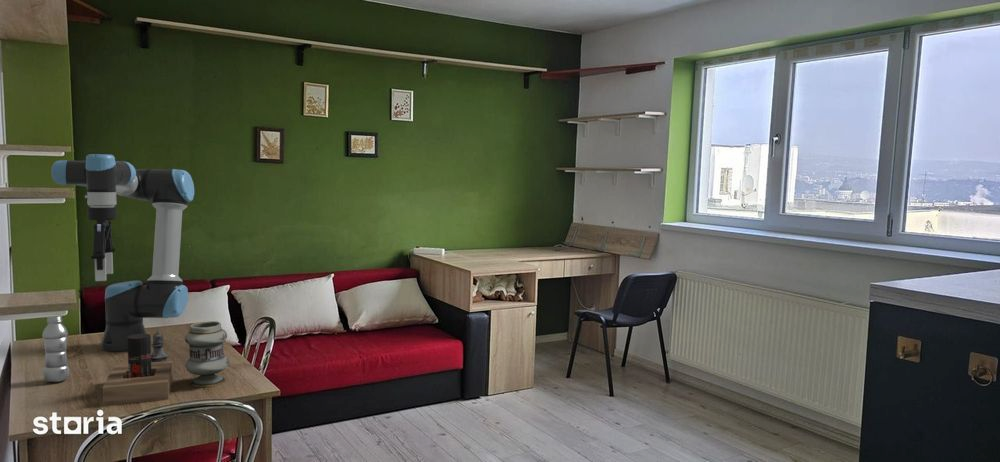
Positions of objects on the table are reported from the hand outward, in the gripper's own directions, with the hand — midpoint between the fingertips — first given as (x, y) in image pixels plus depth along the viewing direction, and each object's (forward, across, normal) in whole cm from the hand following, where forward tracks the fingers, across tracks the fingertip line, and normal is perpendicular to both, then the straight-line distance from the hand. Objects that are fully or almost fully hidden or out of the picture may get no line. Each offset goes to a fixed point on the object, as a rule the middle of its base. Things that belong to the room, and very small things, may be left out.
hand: (104, 277), depth 205 cm
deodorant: (+31, +13, +10) cm, 35 cm away
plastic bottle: (+32, -4, -14) cm, 35 cm away
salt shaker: (+32, -11, +13) cm, 36 cm away
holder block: (+32, +13, +10) cm, 36 cm away
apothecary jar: (+32, +11, +28) cm, 44 cm away
